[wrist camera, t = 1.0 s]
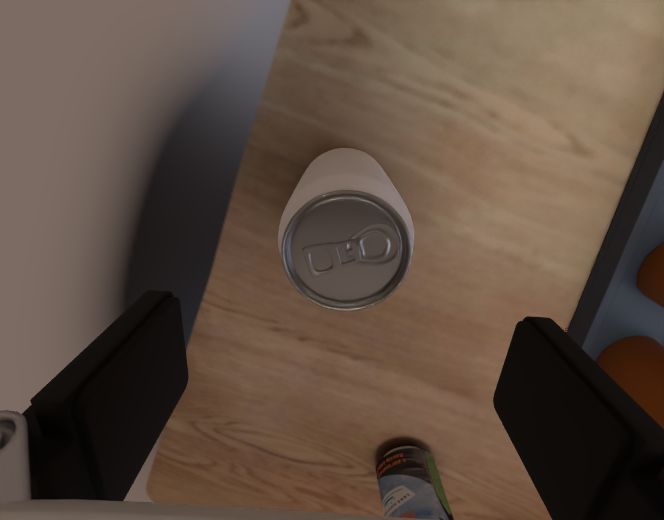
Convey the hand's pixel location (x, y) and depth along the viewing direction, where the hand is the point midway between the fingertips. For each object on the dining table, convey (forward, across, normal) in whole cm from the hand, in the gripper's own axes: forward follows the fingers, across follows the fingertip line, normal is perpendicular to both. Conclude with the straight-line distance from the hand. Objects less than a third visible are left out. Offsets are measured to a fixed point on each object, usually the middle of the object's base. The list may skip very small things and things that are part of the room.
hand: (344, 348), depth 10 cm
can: (+18, 0, -1) cm, 18 cm away
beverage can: (+18, -9, +27) cm, 34 cm away
